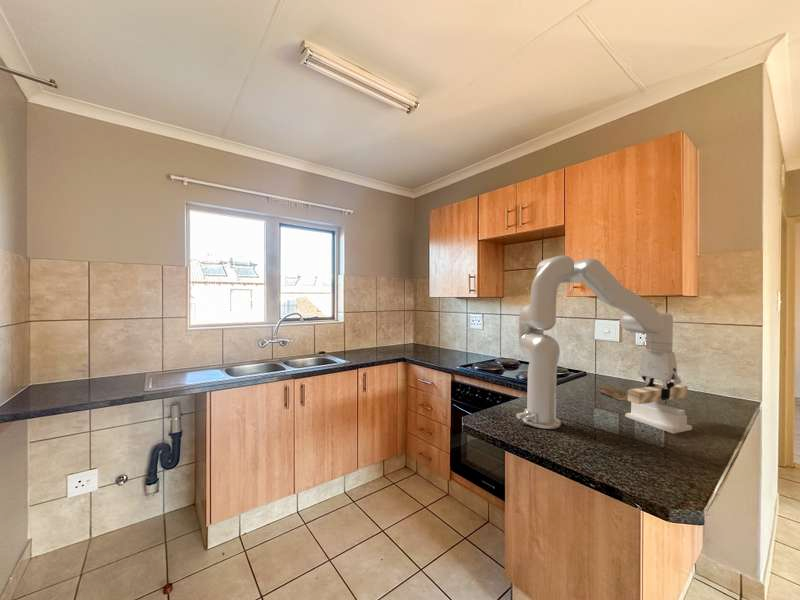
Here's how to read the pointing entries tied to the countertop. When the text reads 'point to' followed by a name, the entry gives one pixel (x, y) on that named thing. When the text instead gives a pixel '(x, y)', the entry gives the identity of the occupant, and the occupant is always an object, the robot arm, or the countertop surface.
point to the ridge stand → (660, 416)
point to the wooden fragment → (614, 393)
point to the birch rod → (655, 394)
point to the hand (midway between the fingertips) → (658, 396)
